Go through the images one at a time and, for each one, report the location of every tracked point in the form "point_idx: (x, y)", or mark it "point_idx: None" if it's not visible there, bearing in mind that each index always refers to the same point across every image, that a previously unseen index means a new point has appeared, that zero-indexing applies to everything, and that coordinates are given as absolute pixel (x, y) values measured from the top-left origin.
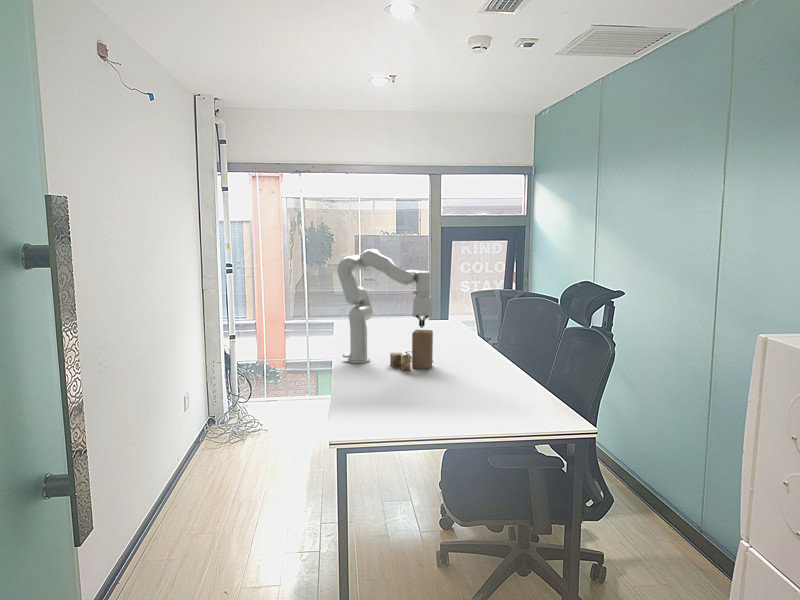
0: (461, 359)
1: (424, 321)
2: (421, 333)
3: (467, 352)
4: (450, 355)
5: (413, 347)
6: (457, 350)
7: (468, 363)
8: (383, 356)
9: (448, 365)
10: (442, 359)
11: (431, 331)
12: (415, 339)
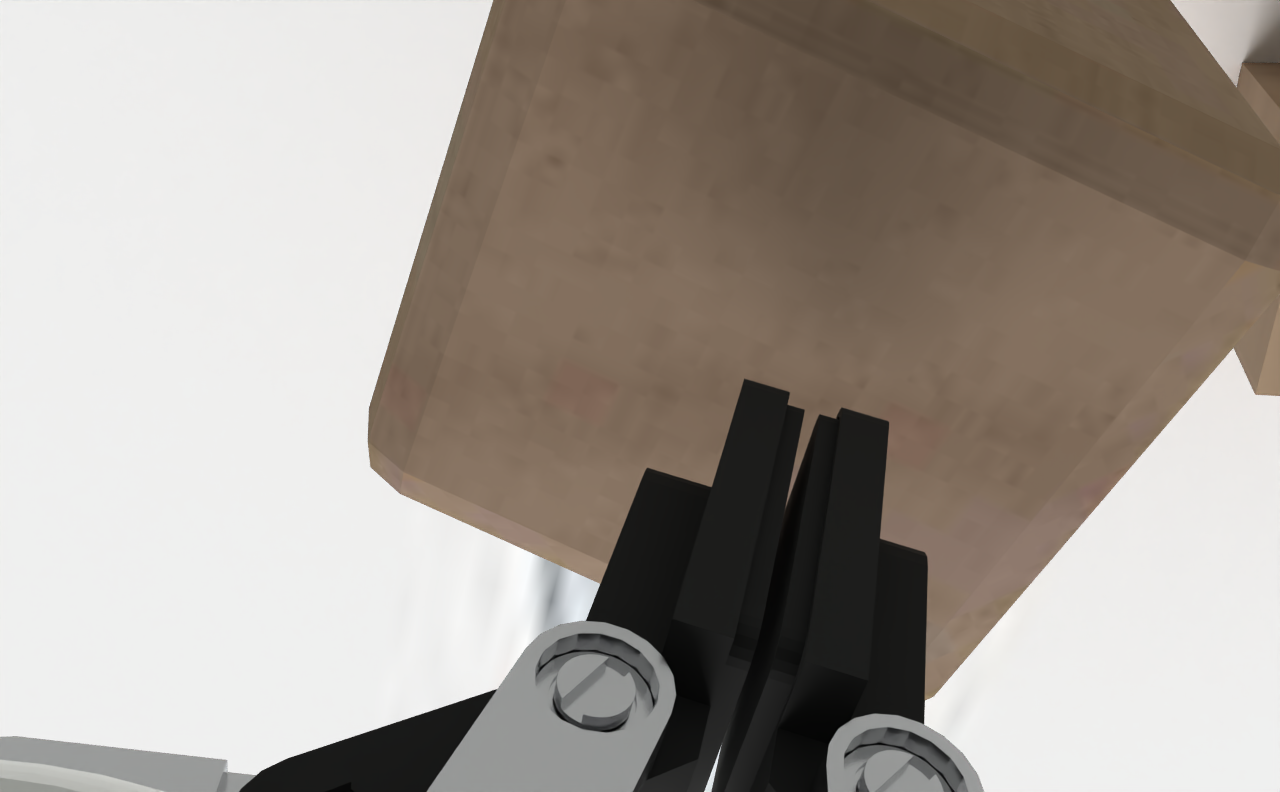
0: (117, 332)
1: (601, 616)
2: (939, 27)
3: (40, 623)
4: (257, 561)
5: (1172, 5)
6: (158, 730)
7: (11, 73)
8: (1236, 783)
9: (343, 13)
10: None
11: (411, 314)
12: (1165, 45)
